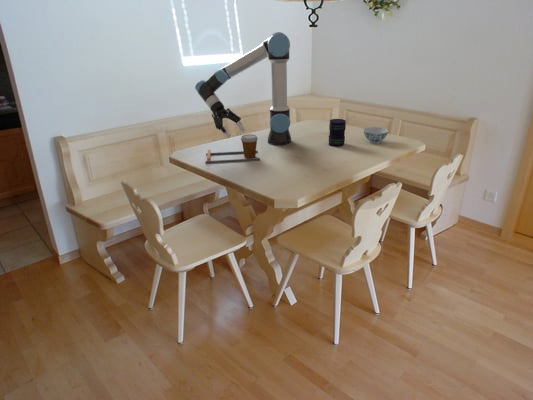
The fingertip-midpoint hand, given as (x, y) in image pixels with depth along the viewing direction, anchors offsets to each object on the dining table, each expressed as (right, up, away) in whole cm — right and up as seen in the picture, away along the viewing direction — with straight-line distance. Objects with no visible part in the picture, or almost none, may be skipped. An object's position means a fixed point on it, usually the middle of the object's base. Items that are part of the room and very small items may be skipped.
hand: (237, 134), depth 224 cm
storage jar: (+60, -3, +20) cm, 64 cm away
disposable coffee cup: (+7, -13, +2) cm, 15 cm away
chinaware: (+85, -1, +24) cm, 88 cm away
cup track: (-3, -13, +1) cm, 14 cm away
